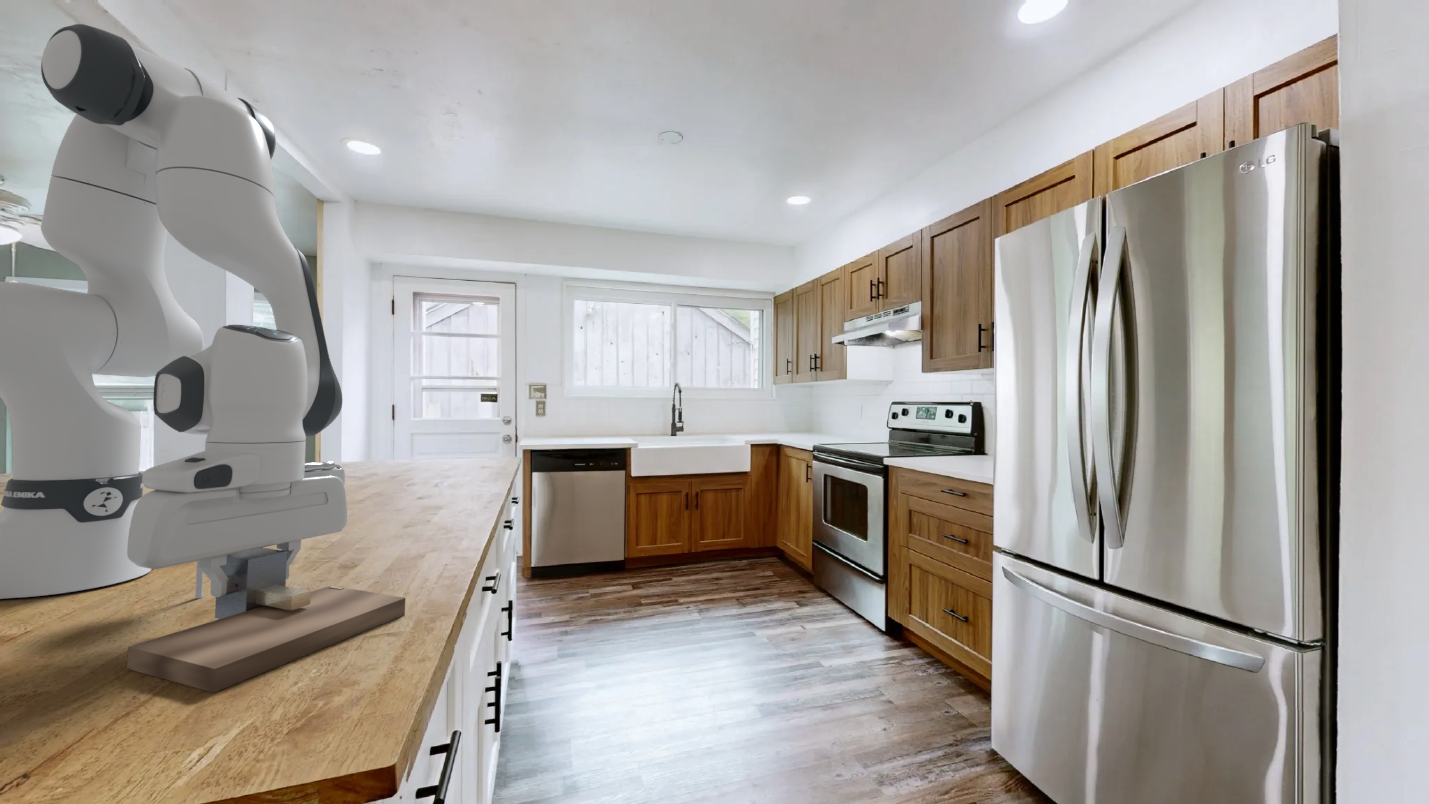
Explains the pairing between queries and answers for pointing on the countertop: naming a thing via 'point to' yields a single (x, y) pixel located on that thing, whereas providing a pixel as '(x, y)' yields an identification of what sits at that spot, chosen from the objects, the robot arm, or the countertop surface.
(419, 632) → the countertop surface
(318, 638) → the board
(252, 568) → the upright grey metal block
